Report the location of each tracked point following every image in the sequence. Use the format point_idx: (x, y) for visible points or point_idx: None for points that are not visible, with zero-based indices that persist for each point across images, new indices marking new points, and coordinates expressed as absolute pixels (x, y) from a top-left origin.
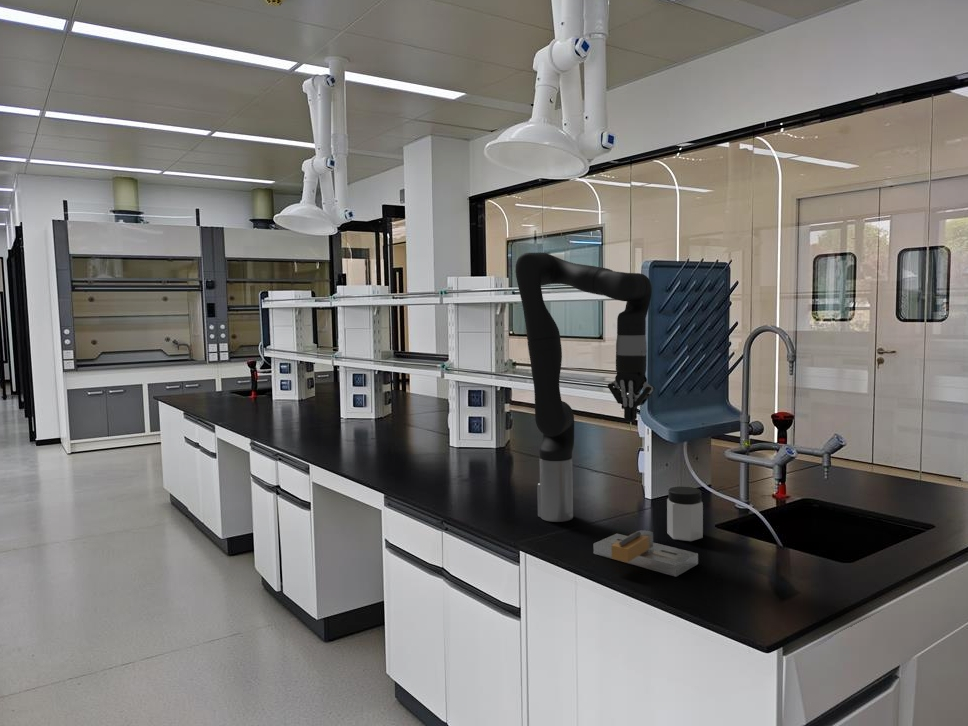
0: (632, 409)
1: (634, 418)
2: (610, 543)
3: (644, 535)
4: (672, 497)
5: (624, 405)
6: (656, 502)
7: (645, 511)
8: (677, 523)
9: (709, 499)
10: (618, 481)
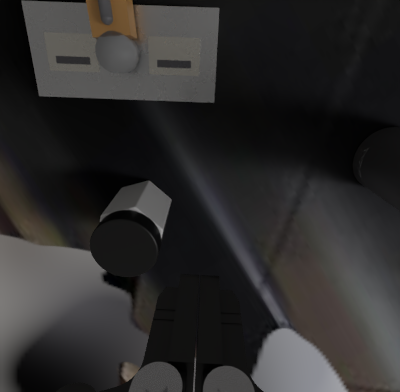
0: (157, 354)
1: (160, 303)
2: (190, 34)
3: (103, 36)
4: (136, 216)
5: (232, 377)
6: (263, 317)
7: (257, 273)
8: (135, 192)
9: None
10: (365, 372)
